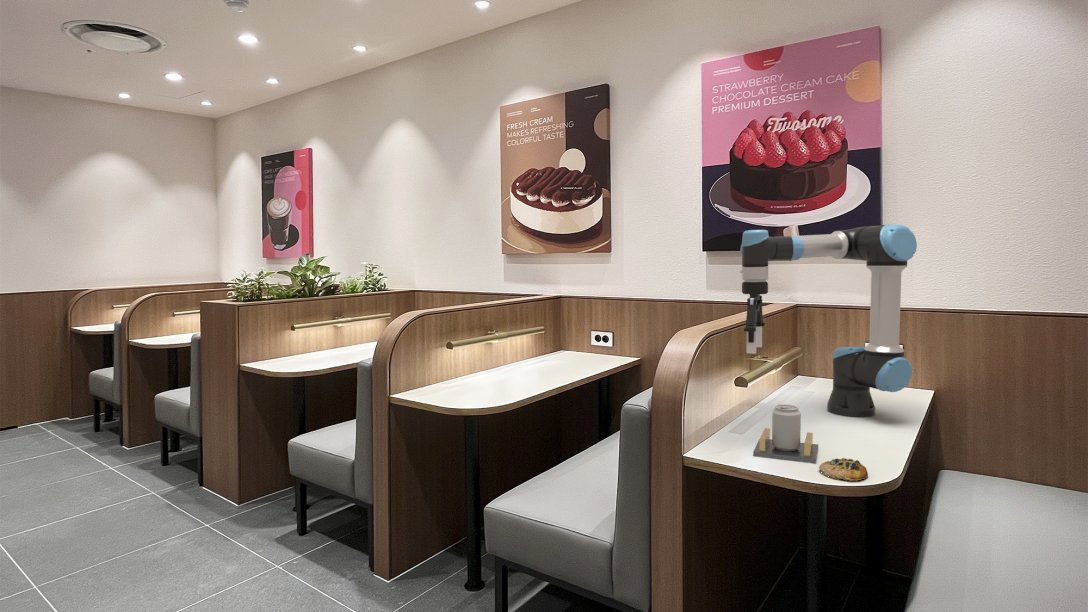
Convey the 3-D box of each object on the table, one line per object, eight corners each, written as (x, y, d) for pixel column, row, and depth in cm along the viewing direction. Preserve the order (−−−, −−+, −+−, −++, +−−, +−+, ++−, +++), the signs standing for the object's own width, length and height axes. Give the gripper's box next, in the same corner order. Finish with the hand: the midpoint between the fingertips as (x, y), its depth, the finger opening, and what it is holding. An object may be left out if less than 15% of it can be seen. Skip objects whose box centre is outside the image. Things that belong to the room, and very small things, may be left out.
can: (767, 444, 177) (767, 403, 177) (792, 443, 178) (793, 402, 177) (779, 452, 170) (779, 409, 169) (805, 451, 171) (806, 408, 170)
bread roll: (861, 468, 160) (861, 450, 159) (873, 489, 150) (873, 470, 149) (815, 467, 163) (815, 449, 162) (823, 487, 153) (823, 469, 152)
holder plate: (753, 455, 172) (753, 439, 171) (759, 442, 184) (759, 426, 184) (815, 463, 164) (816, 446, 164) (818, 448, 177) (818, 432, 177)
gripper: (748, 279, 200) (747, 344, 202) (735, 282, 178) (735, 355, 180) (772, 279, 197) (772, 345, 199) (762, 282, 175) (762, 356, 177)
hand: (754, 350), depth 189 cm, fingers open, 13 cm apart
